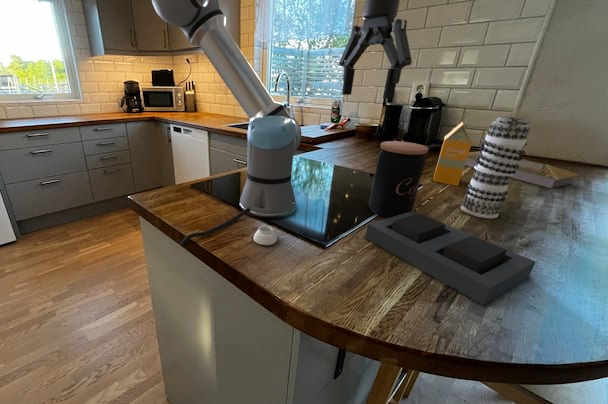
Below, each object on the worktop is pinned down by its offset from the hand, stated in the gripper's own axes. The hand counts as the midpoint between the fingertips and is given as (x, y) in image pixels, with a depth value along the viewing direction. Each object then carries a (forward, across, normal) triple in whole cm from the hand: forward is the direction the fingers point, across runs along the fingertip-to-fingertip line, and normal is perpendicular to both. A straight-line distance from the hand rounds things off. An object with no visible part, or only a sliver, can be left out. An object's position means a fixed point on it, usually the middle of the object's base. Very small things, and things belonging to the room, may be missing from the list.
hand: (365, 96), depth 77 cm
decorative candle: (+29, +22, +26) cm, 45 cm away
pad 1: (+29, +25, -6) cm, 38 cm away
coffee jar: (+29, +12, +3) cm, 31 cm away
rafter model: (+29, +6, +78) cm, 84 cm away
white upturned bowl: (+29, +10, -35) cm, 46 cm away
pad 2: (+29, +36, -5) cm, 47 cm away
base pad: (+29, +31, -5) cm, 42 cm away
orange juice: (+29, +2, +45) cm, 54 cm away
